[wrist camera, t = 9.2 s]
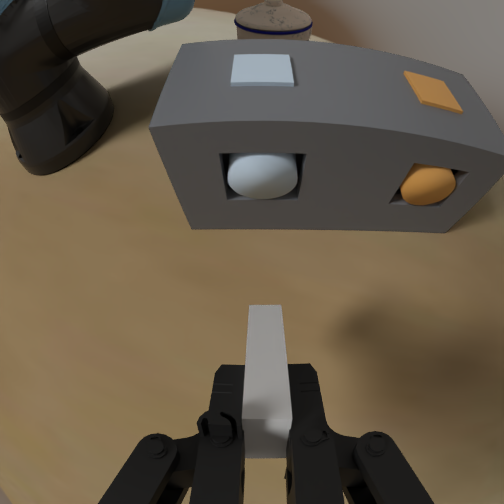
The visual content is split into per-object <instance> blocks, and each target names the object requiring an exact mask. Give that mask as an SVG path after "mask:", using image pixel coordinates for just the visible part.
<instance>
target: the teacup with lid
mask: <svg viewBox="0 0 504 504" xmlns="http://www.w3.org/2000/svg"><path fill="white" fill-rule="evenodd" d="M234 23H235V25H236V26H237V38H238V40H239V39H283V40H302V41H309V38H310V36H311V32H312V20H311V18H310V17H309V15H308V14H307V13H305V12H304V11H302V10H299V9H296V8H293V7H291V6H289V5H287V4H284V3H283V0H265V2H264V3H260V4H258V5H256V6H253V7H249V8H246V9H243V10H241V11H240V12H238V13H237V15H236V17H235V20H234Z"/></svg>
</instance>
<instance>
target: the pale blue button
mask: <svg viewBox="0 0 504 504" xmlns="http://www.w3.org/2000/svg"><path fill="white" fill-rule="evenodd" d="M297 180H298V177H297V166H296V155H295V153H230V154H229V167H228V183H229V185H230V187H231V188H232V189H233V190H234V191H235V192H237V193H238V194H240V195H243V196H245V197H249V198H254V199H271V198H276V197H280V196H283V195H285V194H287V193H289V192H290V191H291V190H292V189H293V188H294V187H295V186H296V184H297Z"/></svg>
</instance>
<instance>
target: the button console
mask: <svg viewBox="0 0 504 504" xmlns="http://www.w3.org/2000/svg"><path fill="white" fill-rule="evenodd" d="M149 130H150V132H151V135H152V137H153V140H154V142H155V145H156V147H157V150H158V152H159V155H160V157H161V159H162V162H163V164H164V167H165V169H166V171H167V174H168V176H169V179H170V181H171V183H172V186H173V188H174V190H175V193H176V195H177V197H178V200H179V202H180V204H181V206H182V209H183V211H184V213H185V215H186V218H187V220H188V222H189V224H190V227H191V229H314V230H367V231H402V232H430V233H446V232H447V231H448V230H449V229H450V228H451V227H452V226H453V225H454V224H455V223H456V222H457V221H458V220H459V219H460V218H462V217H463V216H464V215H465V214H466V213H467V212H468V211H469V210H470V209H471V208H472V207H473V206H474V205H475V204H476V203H477V202H478V201H479V200H480V199H481V198H482V197H483V196H484V195H485V194H486V193H487V192H488V190H489V189H490V188H491V187H492V186H493V185H494V184H495V183H496V182H497V181H498V180H499V179H500V178H501V177H502V175H503V174H504V135H503V134H502V132H501V130H500V128H499V127H498V125H497V123H496V122H495V120H494V119H493V117H492V115H491V114H490V112H489V111H488V109H487V108H486V106H485V105H484V103H483V102H482V100H481V99H480V97H479V96H478V95H477V93H476V92H475V90H474V89H473V88H472V86H471V85H470V84H469V82H468V81H467V79H466V78H465V77H464V76H463V75H462V74H459V73H457V72H454V71H451V70H448V69H445V68H442V67H439V66H436V65H433V64H429V63H426V62H423V61H419V60H415V59H412V58H408V57H404V56H400V55H395V54H391V53H387V52H382V51H377V50H372V49H367V48H361V47H355V46H348V45H342V44H334V43H325V42H315V41H302V40H283V39H239V40H219V41H207V42H197V43H188V44H182V46H181V48H180V50H179V52H178V54H177V57H176V59H175V61H174V63H173V66H172V68H171V70H170V73H169V75H168V77H167V80H166V82H165V85H164V87H163V90H162V92H161V95H160V97H159V100H158V103H157V105H156V108H155V111H154V114H153V116H152V119H151V122H150V125H149ZM230 153H295V155H296V166H297V177H298V180H297V184H296V186H295V187H294V188H293V189H292V190H291V191H290V192H289V193H287V194H285V195H283V196H280V197H276V198H271V199H254V198H249V197H245V196H243V195H240V194H238V193H237V192H235V191H234V190H233V189H232V188H231V187H230V185H229V183H228V167H229V154H230ZM414 163H418V164H425V165H431V166H438V167H444V168H450V169H451V170H452V173H453V175H454V178H455V181H456V185H455V188H454V190H453V191H452V192H451V194H449V195H448V196H447V197H446V198H444V199H442V200H440V201H438V202H436V203H432V204H428V205H413V204H410V203H407V202H406V201H405V200H404V199H403V197H402V194H401V190H400V185H401V183H402V182H403V180H404V179H405V177H406V175H407V174H408V172H409V171H410V169H411V167H412V166H413V164H414Z"/></svg>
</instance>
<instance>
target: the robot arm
mask: <svg viewBox="0 0 504 504" xmlns="http://www.w3.org/2000/svg"><path fill="white" fill-rule="evenodd" d="M194 2H195V0H0V115H1V117H2V118H3V120H4V121H5V122H6V124H7V127H8V130H9V134H10V137H11V140H12V143H13V146H14V148H15V150H16V155H17V158H18V160H19V162H20V163H21V164H22V165H23V166H24V168H25V169H26V170H27V171H28V172H29V173H31V174H34V175H45V174H49V173H52V172H55V171H57V170H59V169H61V168H63V167H65V166H67V165H68V164H70V163H71V162H73V161H74V160H76V159H77V158H79V157H80V156H81V155H82V154H83V153H85V152H86V151H87V150H88V149H89V148H90V147H91V146H92V145H93V144H94V143H95V142H96V141H97V140H98V139H99V138H100V136H101V135H102V134H103V133H104V131H105V130H106V128H107V127H108V125H109V123H110V121H111V119H112V116H113V111H114V106H113V103H112V100H111V98H110V96H109V94H108V92H107V90H106V89H105V88H104V87H103V86H102V85H101V84H100V83H99V82H98V81H97V80H96V79H94V78H93V77H92V76H91V75H90V74H89V73H88V72H87V71H86V70H85V69H84V68H83V67H82V66H81V65H80V63H79V61H78V58H77V56H78V55H81V54H83V53H85V52H87V51H90V50H92V49H95V48H97V47H99V46H102V45H105V44H107V43H110V42H113V41H115V40H118V39H121V38H124V37H127V36H130V35H133V34H136V33H139V32H142V31H146V30H148V31H153V30H155V29H156V28H157V27H160V26H163V25H167V24H170V23H174V22H178V21H180V20H182V19H184V18H185V17H186V16H187V15H188V14H189V13H190V12H191V10H192V8H193V6H194ZM197 426H198V430H199V433H198V434H196V435H194V436H191V437H188V438H182V439H175V440H173V439H172V438H170V437H168V436H167V435H164V434H159V433H157V434H150V435H148V436H146V437H144V438H143V439H142V440H141V441H140V442H139V443H138V444H137V446H136V447H135V449H134V451H133V452H132V454H131V455H130V457H129V458H128V460H127V461H126V463H125V464H124V466H123V467H122V469H121V470H120V472H119V473H118V475H117V476H116V478H115V479H114V481H113V482H112V483H111V485H110V486H109V488H108V489H107V491H106V492H105V494H104V495H103V497H102V498H101V500H100V501H99V503H98V504H181V503H182V501H183V499H184V497H185V495H186V493H187V491H188V489H189V487H192V490H191V496H190V502H189V504H243V500H244V479H245V467H244V465H245V458H286V459H287V467H286V472H285V477H284V479H286V491H287V504H344V497H343V492H344V494H345V496H346V498H347V500H348V502H349V504H434V502H433V501H432V499H431V498H430V496H429V495H428V493H427V491H426V490H425V488H424V487H423V485H422V484H421V482H420V481H419V479H418V477H417V476H416V474H415V473H414V471H413V470H412V468H411V467H410V465H409V464H408V462H407V461H406V459H405V457H404V456H403V454H402V453H401V451H400V450H399V448H398V447H397V445H396V444H395V442H394V441H393V439H392V438H391V437H390V436H389V435H387V434H385V433H383V432H377V431H373V432H368V433H366V434H364V435H363V436H361V437H360V438H356V437H349V436H344V435H340V434H338V433H336V432H334V431H333V430H332V429H331V428H330V427H329V426H328V424H327V422H326V418H325V413H324V407H323V402H322V397H321V392H320V386H319V381H318V376H317V372H316V371H315V369H314V368H313V367H312V366H311V364H310V363H309V364H287V356H286V346H285V336H284V327H283V317H282V308H281V305H249V317H248V332H247V347H246V363H245V365H221V366H220V368H219V369H218V370H217V371H216V373H215V377H214V383H213V388H212V394H211V400H210V406H209V411H207V412H205V413H204V414H202V415H201V416H200V417H199V419H198V421H197ZM342 490H343V491H342Z"/></svg>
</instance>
